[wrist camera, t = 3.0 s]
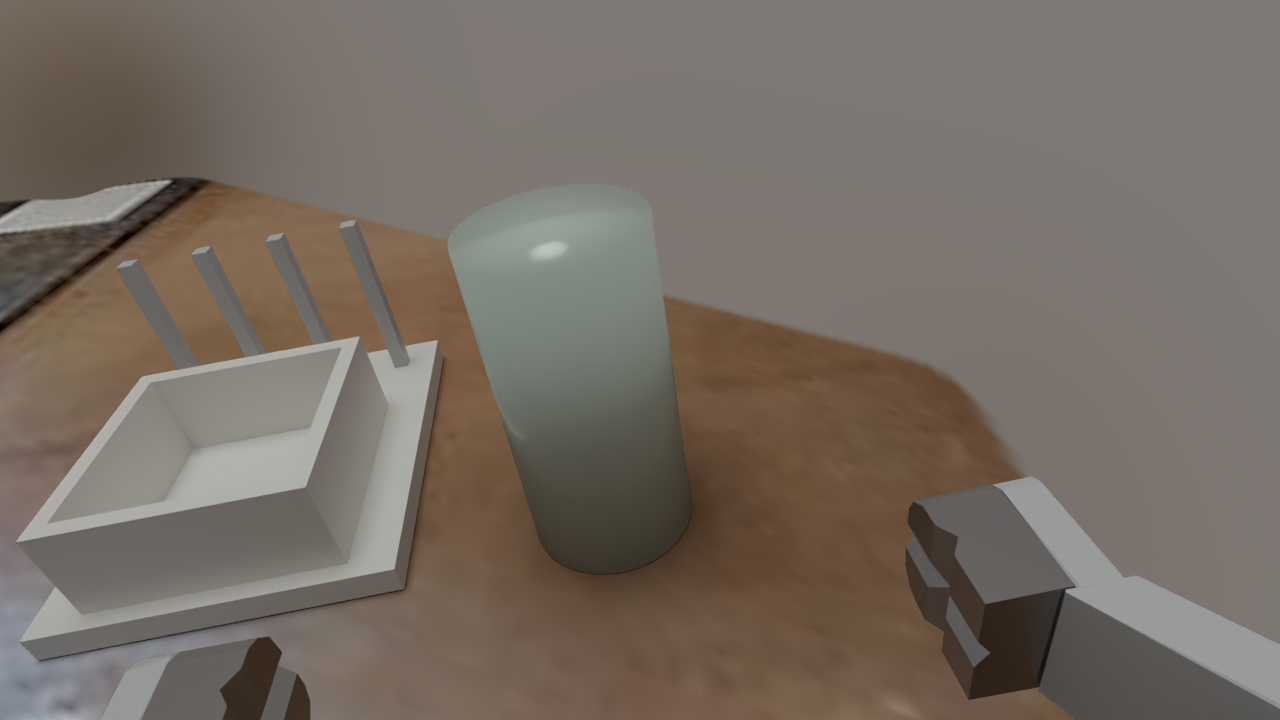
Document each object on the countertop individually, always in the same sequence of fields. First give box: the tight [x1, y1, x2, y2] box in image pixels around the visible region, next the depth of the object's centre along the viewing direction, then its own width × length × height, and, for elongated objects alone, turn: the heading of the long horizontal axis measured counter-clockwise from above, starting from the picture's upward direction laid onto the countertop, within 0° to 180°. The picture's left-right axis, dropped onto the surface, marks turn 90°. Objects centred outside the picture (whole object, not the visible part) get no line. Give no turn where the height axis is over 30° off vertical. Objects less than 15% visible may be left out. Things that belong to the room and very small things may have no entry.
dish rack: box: [15, 220, 444, 660], centre depth 27 cm, size 14×12×8 cm
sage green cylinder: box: [448, 183, 691, 574], centre depth 23 cm, size 6×6×11 cm
